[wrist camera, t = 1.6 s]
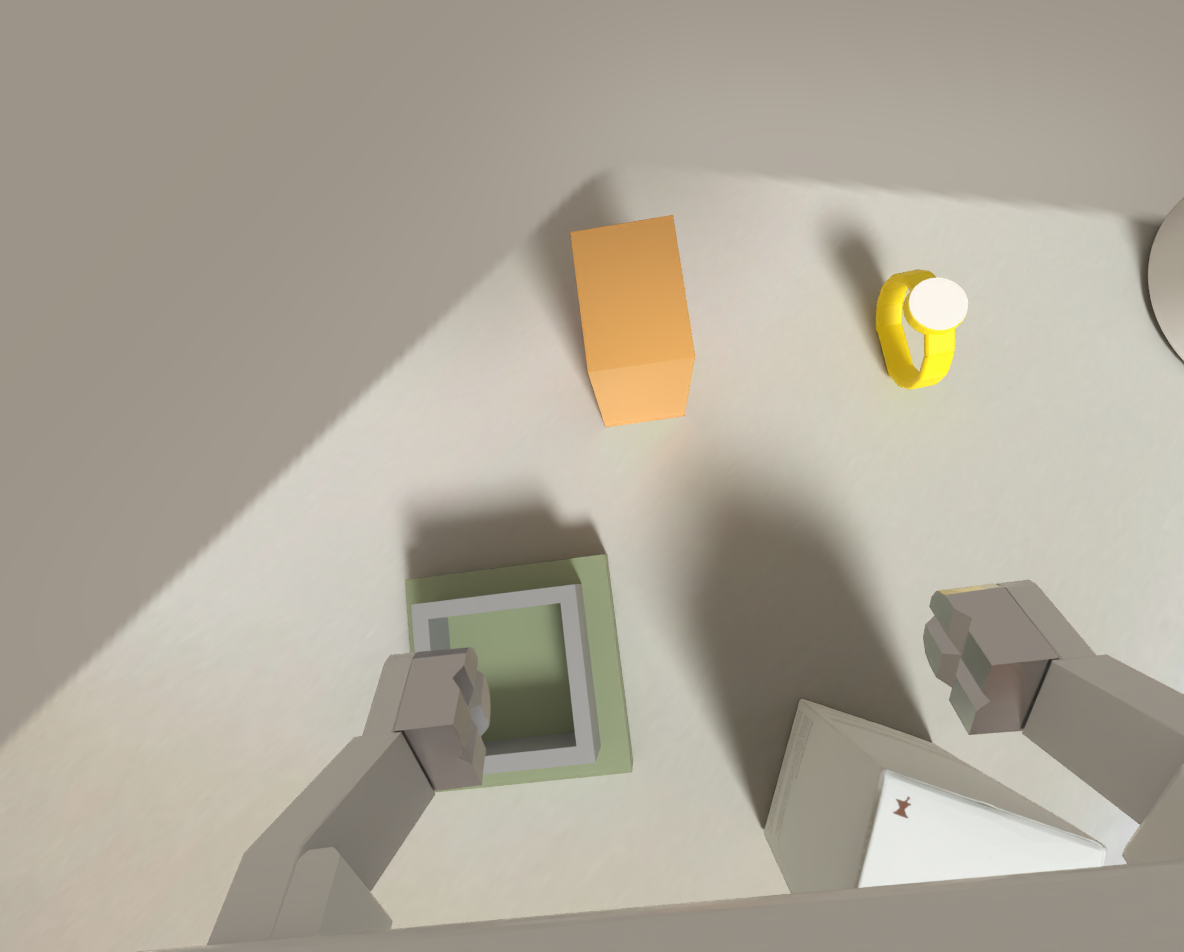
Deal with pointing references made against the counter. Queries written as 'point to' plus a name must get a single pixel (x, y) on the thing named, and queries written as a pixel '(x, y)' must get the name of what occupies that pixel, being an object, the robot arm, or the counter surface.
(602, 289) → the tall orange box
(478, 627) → the grey-rimmed base plate
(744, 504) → the counter surface
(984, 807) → the supplement box
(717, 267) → the counter surface
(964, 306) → the watch
